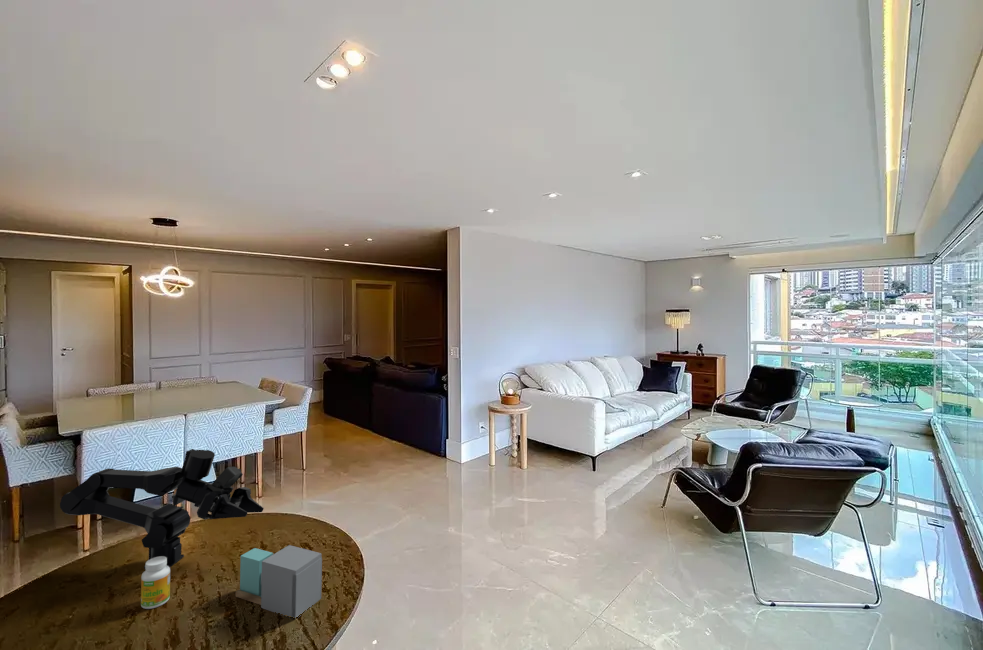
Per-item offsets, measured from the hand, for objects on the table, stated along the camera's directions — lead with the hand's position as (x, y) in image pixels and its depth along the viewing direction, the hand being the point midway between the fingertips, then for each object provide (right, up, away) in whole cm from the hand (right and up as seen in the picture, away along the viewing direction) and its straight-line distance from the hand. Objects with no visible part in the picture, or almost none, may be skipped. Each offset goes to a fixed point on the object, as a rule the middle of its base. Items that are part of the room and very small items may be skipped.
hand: (254, 512), depth 117 cm
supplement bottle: (-15, -15, -15) cm, 26 cm away
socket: (+16, -15, -14) cm, 26 cm away
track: (+7, -15, -11) cm, 20 cm away
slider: (+7, -15, -10) cm, 19 cm away
